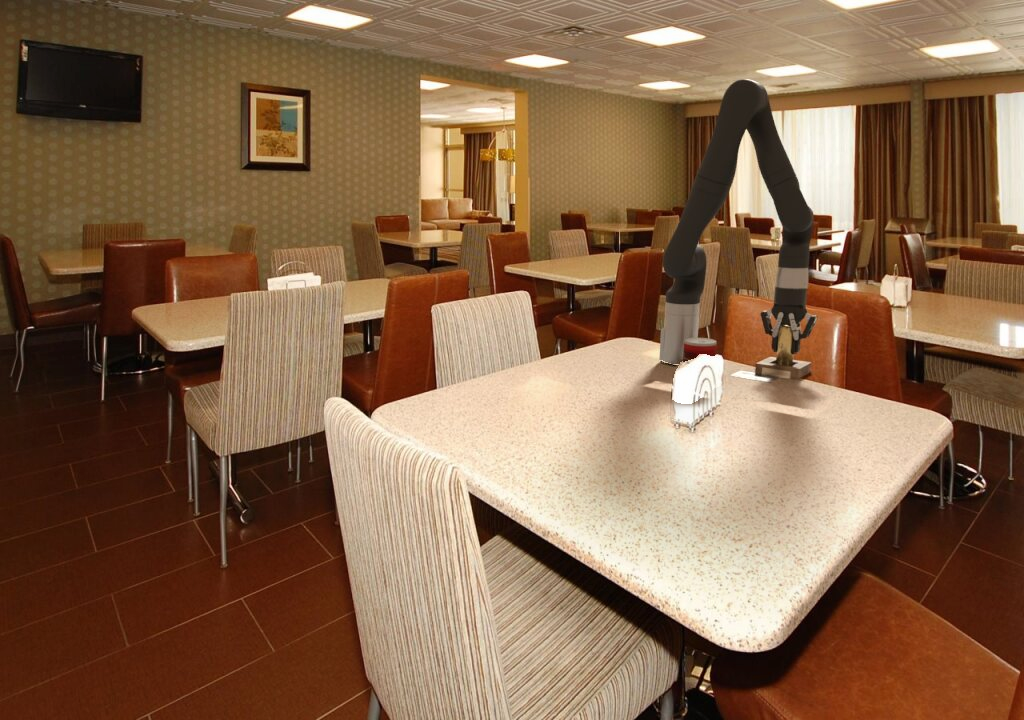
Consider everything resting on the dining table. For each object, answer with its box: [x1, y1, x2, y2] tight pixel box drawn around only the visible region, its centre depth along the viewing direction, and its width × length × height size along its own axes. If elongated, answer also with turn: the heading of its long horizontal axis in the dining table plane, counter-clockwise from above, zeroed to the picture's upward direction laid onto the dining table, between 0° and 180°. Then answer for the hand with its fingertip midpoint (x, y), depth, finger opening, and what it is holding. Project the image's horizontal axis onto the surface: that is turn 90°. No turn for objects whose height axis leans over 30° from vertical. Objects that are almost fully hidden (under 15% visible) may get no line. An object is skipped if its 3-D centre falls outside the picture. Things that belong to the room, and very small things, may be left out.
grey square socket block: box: [754, 356, 812, 381], centre depth 173 cm, size 10×11×4 cm
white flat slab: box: [729, 370, 780, 383], centre depth 169 cm, size 10×7×2 cm
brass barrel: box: [775, 325, 794, 366], centre depth 171 cm, size 4×4×10 cm
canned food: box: [683, 337, 718, 362], centre depth 166 cm, size 8×8×11 cm
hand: (785, 352), depth 171 cm, fingers closed on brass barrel, 4 cm apart
